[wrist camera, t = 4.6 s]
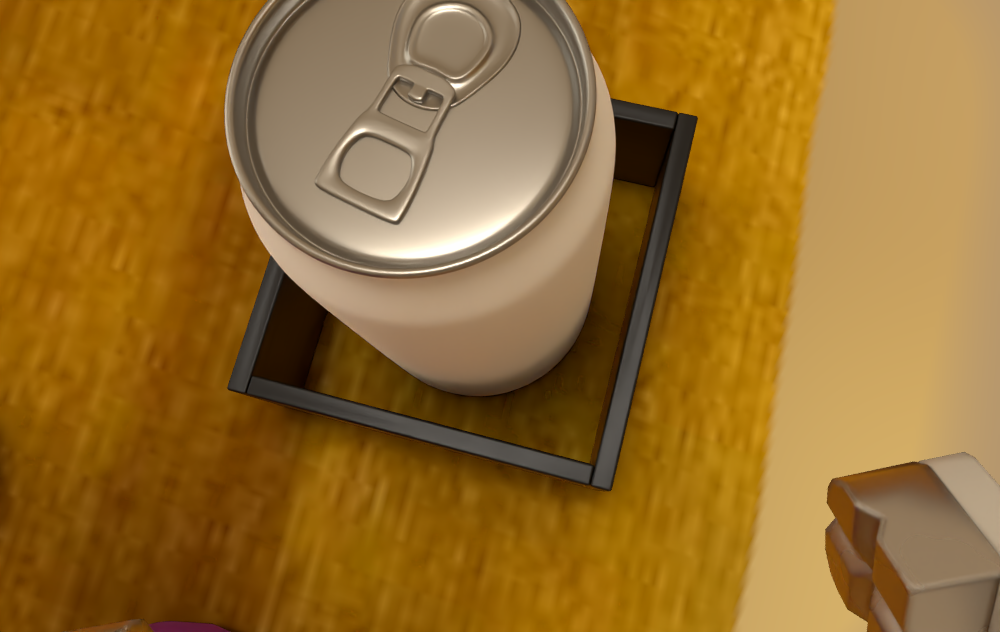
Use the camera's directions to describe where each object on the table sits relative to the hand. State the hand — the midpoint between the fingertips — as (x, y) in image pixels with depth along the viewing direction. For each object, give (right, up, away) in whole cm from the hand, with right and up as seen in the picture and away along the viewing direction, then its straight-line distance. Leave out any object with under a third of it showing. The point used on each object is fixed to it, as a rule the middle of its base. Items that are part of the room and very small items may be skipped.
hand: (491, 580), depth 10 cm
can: (0, +4, +14) cm, 15 cm away
